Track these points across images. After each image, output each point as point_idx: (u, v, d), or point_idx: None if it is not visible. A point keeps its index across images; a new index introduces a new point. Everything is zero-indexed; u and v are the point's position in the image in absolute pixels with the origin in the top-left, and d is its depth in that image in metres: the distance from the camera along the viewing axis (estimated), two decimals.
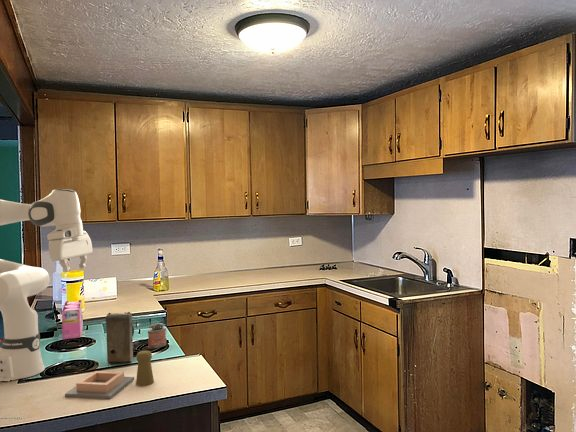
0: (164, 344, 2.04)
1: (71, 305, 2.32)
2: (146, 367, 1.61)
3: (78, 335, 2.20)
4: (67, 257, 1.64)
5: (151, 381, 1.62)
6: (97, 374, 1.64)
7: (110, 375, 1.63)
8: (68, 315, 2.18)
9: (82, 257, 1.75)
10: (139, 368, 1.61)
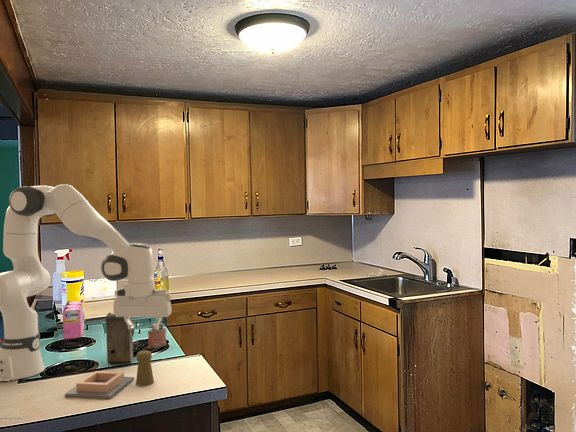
0: (164, 344, 2.04)
1: (73, 305, 2.32)
2: (146, 367, 1.61)
3: (79, 335, 2.20)
4: (124, 315, 1.61)
5: (151, 381, 1.62)
6: (97, 374, 1.64)
7: (110, 375, 1.63)
8: (69, 315, 2.18)
9: None
10: (139, 368, 1.61)
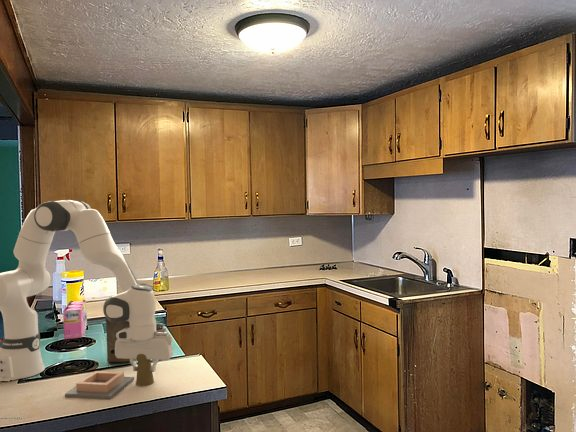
0: None
1: (74, 305, 2.32)
2: (146, 367, 1.61)
3: (79, 335, 2.20)
4: (126, 357, 1.62)
5: (151, 381, 1.62)
6: (97, 374, 1.64)
7: (110, 375, 1.63)
8: (69, 315, 2.18)
9: None
10: (139, 368, 1.61)
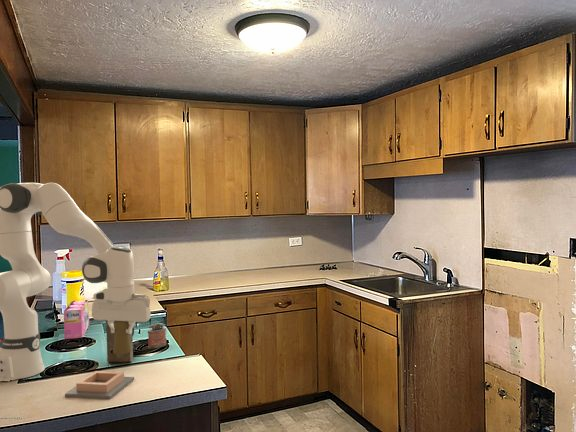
0: (164, 344, 2.04)
1: (76, 305, 2.32)
2: (123, 336, 1.59)
3: (80, 335, 2.20)
4: (103, 318, 1.60)
5: (128, 350, 1.60)
6: (97, 374, 1.64)
7: (110, 375, 1.63)
8: (70, 315, 2.18)
9: None
10: (116, 336, 1.59)
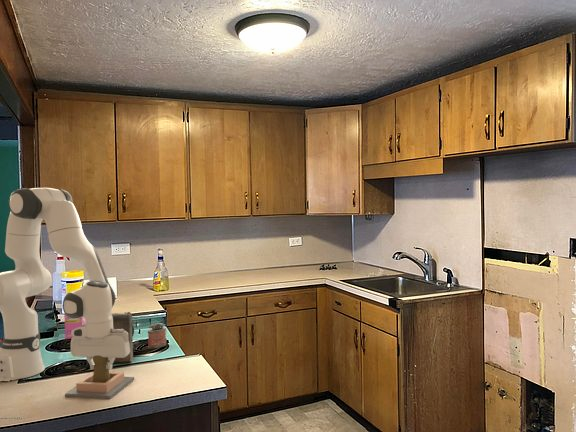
0: (164, 344, 2.04)
1: None
2: (102, 369, 1.57)
3: None
4: (82, 355, 1.58)
5: None
6: None
7: (110, 375, 1.63)
8: None
9: None
10: (95, 370, 1.57)
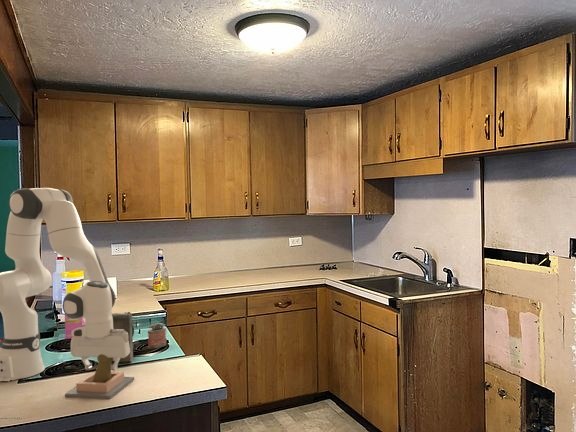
0: (164, 344, 2.04)
1: None
2: (105, 369, 1.57)
3: None
4: (82, 355, 1.58)
5: None
6: None
7: None
8: None
9: None
10: (98, 368, 1.57)
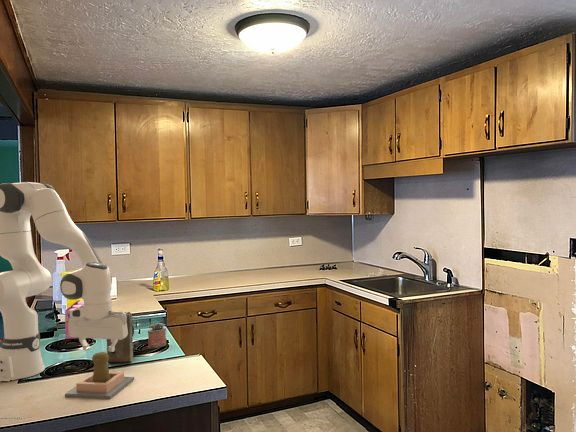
0: (164, 344, 2.04)
1: (80, 304, 2.32)
2: (102, 369, 1.57)
3: None
4: (79, 336, 1.58)
5: None
6: None
7: (110, 375, 1.63)
8: None
9: None
10: (95, 370, 1.57)
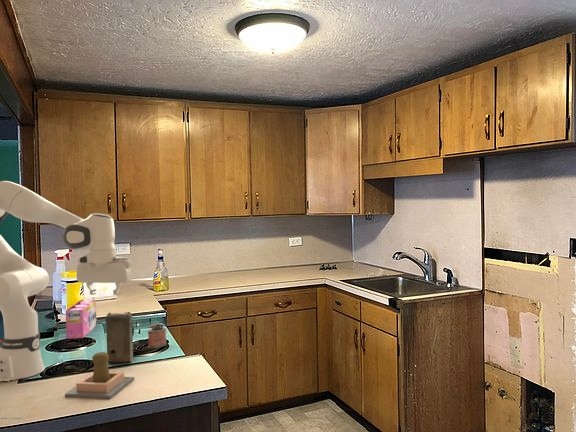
0: (164, 344, 2.04)
1: (82, 304, 2.32)
2: (102, 369, 1.57)
3: (81, 335, 2.19)
4: (87, 281, 1.72)
5: None
6: None
7: (110, 375, 1.63)
8: (71, 315, 2.18)
9: None
10: (95, 370, 1.57)
